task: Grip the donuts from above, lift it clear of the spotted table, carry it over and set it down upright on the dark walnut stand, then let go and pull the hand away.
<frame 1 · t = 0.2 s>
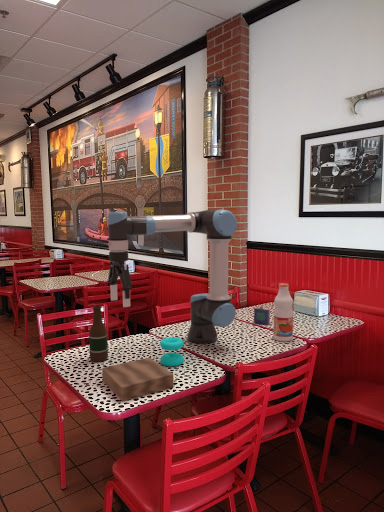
hand: (120, 303, 158), 27 cm above the table, tool pointing down, fingers open, 13 cm apart
walnut stand: (137, 383, 147), on the table
donuts: (172, 363, 167), on the table
beer bottle: (99, 359, 172), on the table
fruit juice: (283, 339, 197), on the table
flask: (261, 324, 224), on the table
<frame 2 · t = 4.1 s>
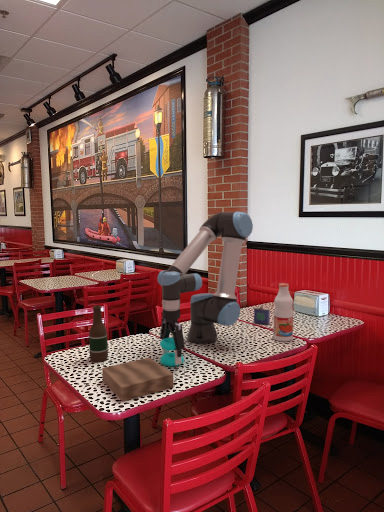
hand: (172, 359, 167), 1 cm above the table, tool pointing down, fingers closed on donuts, 10 cm apart
donuts: (172, 363, 167), on the table, touching gripper
everything else where it was.
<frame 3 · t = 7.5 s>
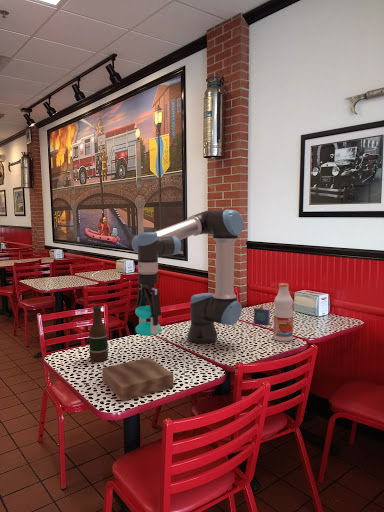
hand: (148, 329, 152), 19 cm above the table, tool pointing down, fingers closed on donuts, 10 cm apart
donuts: (148, 333, 152), point 17 cm above the table, touching gripper
everything else where it was.
when the fingers open (8 cm above the table, at t = 10.9 s): donuts drops 1 cm, resting on walnut stand.
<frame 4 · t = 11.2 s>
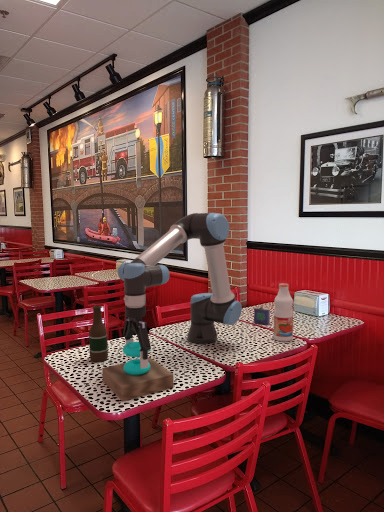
hand: (136, 361, 146), 9 cm above the table, tool pointing down, fingers open, 13 cm apart
donuts: (137, 371, 147), point 5 cm above the table, touching walnut stand
everything else where it was.
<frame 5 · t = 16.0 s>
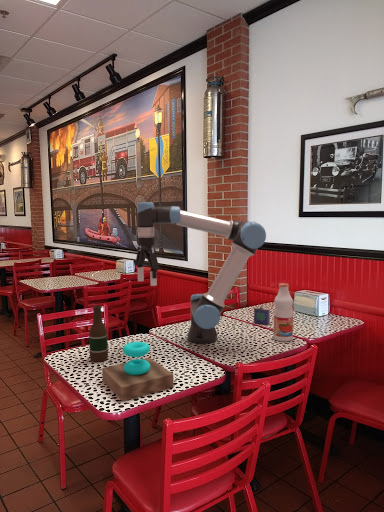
hand: (147, 283, 179), 32 cm above the table, tool pointing down, fingers open, 13 cm apart
nothing on the table moved.
at the end: donuts inside the target area on the walnut stand (0.0 cm from its centre), point 4.8 cm above the walnut stand's base; donuts tilted 0°; the gripper is holding nothing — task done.
